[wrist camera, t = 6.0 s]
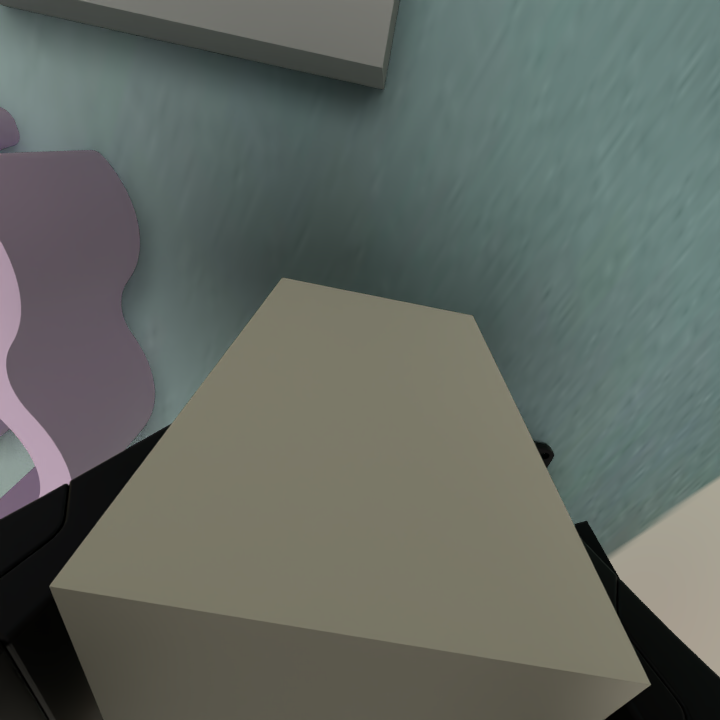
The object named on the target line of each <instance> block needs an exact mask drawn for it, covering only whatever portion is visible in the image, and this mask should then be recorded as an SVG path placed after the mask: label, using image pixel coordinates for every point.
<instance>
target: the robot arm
mask: <svg viewBox="0 0 720 720" xmlns="http://www.w3.org/2000/svg"><path fill="white" fill-rule="evenodd" d="M170 425H171V424H170ZM170 425H168V426H166V427H165V428H163V429H161V430H159V431H157V432H156V433H154V434H152V435H150V436H149V437H147V438H145V439H143V440H141V441H140V442H138V443H136V444H134V445H133V446H131V447H129V448H127V449H126V450H124V451H122V452H120V453H118V454H117V455H115V456H113V457H111V458H110V459H108V460H106V461H104V462H102V463H101V464H99V465H97V466H95V467H94V468H92V469H90V470H88V471H86V472H85V473H83V474H81V475H79V476H78V477H76V478H74V479H72V480H71V481H70V482H69V485H68V484H63V485H61V486H60V487H58V488H56V489H54V490H52V491H51V492H49V493H47V494H45V495H44V496H42V497H40V498H38V499H36V500H34V501H33V502H31V503H29V504H27V505H25V506H23V507H21V508H20V509H18V510H16V511H14V512H12V513H10V514H8V515H7V516H5V517H3V518H1V519H0V720H103V717H102V715H101V712H100V710H99V707H98V705H97V702H96V700H95V697H94V695H93V693H92V690H91V688H90V685H89V683H88V680H87V678H86V675H85V673H84V671H83V668H82V666H81V663H80V661H79V658H78V656H77V653H76V651H75V649H74V646H73V644H72V641H71V639H70V636H69V634H68V631H67V629H66V627H65V624H64V622H63V619H62V617H61V614H60V612H59V609H58V607H57V604H56V602H55V600H54V597H53V595H52V592H51V590H50V587H49V586H50V584H51V583H52V582H53V580H54V579H55V578H56V576H57V575H58V574H59V572H60V571H61V570H62V568H63V567H64V566H65V564H66V563H67V562H68V561H69V559H70V558H71V557H72V555H73V554H74V553H75V551H76V550H77V549H78V547H79V546H80V545H81V543H82V542H83V541H84V539H85V538H86V537H87V535H88V534H89V533H90V531H91V530H92V529H93V527H94V526H95V525H96V523H97V522H98V521H99V519H100V518H101V517H102V516H103V514H104V513H105V512H106V510H107V509H108V508H109V506H110V505H111V504H112V502H113V501H114V500H115V498H116V497H117V496H118V494H119V493H120V492H121V490H122V489H123V488H124V486H125V485H126V484H127V482H128V481H129V480H130V478H131V477H132V476H133V474H134V473H135V472H136V470H137V469H138V468H139V467H140V465H141V464H142V463H143V461H144V460H145V459H146V457H147V456H148V455H149V453H150V452H151V451H152V449H153V448H154V447H155V445H156V444H157V443H158V441H159V440H160V439H161V437H162V436H163V435H164V433H165V432H166V431H167V429H168V428H169V427H170ZM535 446H536V448H537V450H538V452H539V454H540V456H541V458H542V460H543V462H544V464H545V466H546V468H547V467H548V465H549V464H550V462H551V461H552V459H553V457H554V453H553V451H552V449H551V448H550V447H549V446H548V445H544V444H539V443H535ZM543 453H545V454H543ZM575 528H576V530H577V532H578V535H579V537H580V539H581V541H582V543H583V545H584V547H585V549H586V551H587V553H588V555H589V557H590V559H591V561H592V564H593V566H594V568H595V570H596V572H597V574H598V576H599V578H600V580H601V582H602V584H603V586H604V588H605V590H606V592H607V595H608V597H609V599H610V601H611V603H612V605H613V607H614V609H615V611H616V613H617V615H618V617H619V619H620V621H621V624H622V626H623V628H624V630H625V632H626V634H627V636H628V638H629V640H630V642H631V644H632V646H633V648H634V650H635V652H636V655H637V657H638V659H639V661H640V663H641V665H642V667H643V669H644V671H645V673H646V675H647V677H648V679H649V681H650V684H651V685H650V686H649V687H647V688H646V689H645V690H643V691H642V692H641V693H639V694H638V695H637V696H635V697H634V698H632V699H631V700H630V701H628V702H627V703H626V704H624V705H623V706H622V707H620V708H619V709H618V710H616V711H615V712H614V713H612V714H611V715H610V716H608V717H607V718H606V719H604V720H720V677H719V676H718V675H717V674H715V672H713V671H712V670H711V669H710V668H709V667H708V666H707V665H706V664H705V663H704V662H703V661H702V660H701V659H700V658H698V656H697V655H696V654H694V652H693V651H691V650H690V649H689V648H688V647H687V646H686V645H685V644H684V643H683V642H682V641H681V640H680V639H679V638H678V637H677V636H676V635H675V634H674V633H673V632H672V631H671V630H670V629H668V627H667V626H666V625H665V624H664V623H663V622H662V621H661V620H660V619H659V618H658V617H657V616H656V615H655V614H654V613H653V612H652V611H651V610H650V609H649V608H648V607H647V606H646V605H645V604H644V603H643V602H641V600H640V599H639V598H638V597H637V596H636V595H635V594H634V593H633V592H632V591H631V590H630V589H629V588H628V587H627V586H626V585H625V583H624V582H622V581H621V580H620V579H619V577H618V575H617V573H616V571H615V570H614V568H613V566H612V564H611V563H610V561H609V559H608V557H607V556H606V554H605V552H604V550H603V549H602V547H601V545H600V543H599V542H598V540H597V538H596V536H595V534H594V533H593V531H592V529H591V527H590V526H589V524H588V522H587V521H584V522H580V523H576V524H575Z"/></svg>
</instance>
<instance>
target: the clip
mask: <svg viewBox="0 0 720 720" xmlns="http://www.w3.org/2000/svg"><path fill="white" fill-rule="evenodd" d="M18 142H19V131H18V128H17V126H16V123H15V121H14V119H13V117H12V116H11V114H10V113H9V112H8V111H6V110H5V109H3V108H1V107H0V150H2V149H4V148H7V147H10V146H14V145H16V144H17V143H18ZM139 251H140V234H139V226H138V221H137V217H136V213H135V210H134V207H133V204H132V202H131V199H130V197H129V195H128V193H127V191H126V189H125V187H124V185H123V183H122V182H121V180H120V178H119V177H118V175H117V174H116V172H115V171H114V170H113V168H112V167H111V165H110V164H109V163H108V162H107V160H106V159H105V158H104V157H103V156H102V155H101V154H100V153H99V152H97V151H94V150H78V151H50V152H22V153H0V436H1V435H3V434H4V433H5V432H7V431H8V430H9V429H11V430H12V431H13V432H14V434H15V435H16V436H17V437H18V438H19V440H20V441H21V442H22V444H23V445H24V446H25V448H26V449H27V451H28V453H29V454H30V456H31V458H32V460H33V462H34V464H35V467H34V468H33V469H32V470H31V471H30V472H29V473H27V474H26V475H25V476H24V477H23V478H22V479H21V480H20V481H19V482H18V483H17V484H16V485H15V486H13V487H12V488H11V489H10V490H9V491H8V492H7V493H6V494H5V495H4V496H3V497H2V498H1V499H0V519H1V518H3V517H5V516H7V515H8V514H10V513H12V512H14V511H16V510H18V509H20V508H21V507H23V506H25V505H27V504H29V503H31V502H33V501H34V500H36V499H38V498H40V497H42V496H44V495H45V494H47V493H49V492H51V491H52V490H54V489H56V488H58V487H60V486H61V485H63V484H68V485H69V482H70V481H71V480H72V479H74V478H76V477H78V476H79V475H81V474H83V473H85V472H86V471H88V470H90V469H92V468H94V467H95V466H97V465H99V464H101V463H102V462H104V461H106V460H108V459H110V458H111V457H113V456H115V455H117V454H118V453H120V452H122V451H124V450H125V449H126V448H127V447H128V445H129V444H130V443H131V442H132V441H133V440H134V438H135V437H136V436H137V435H138V434H139V432H140V431H141V430H142V429H143V428H144V426H145V425H146V424H147V422H148V420H149V418H150V416H151V414H152V411H153V407H154V401H155V387H154V380H153V375H152V372H151V369H150V366H149V363H148V361H147V359H146V356H145V354H144V352H143V350H142V349H141V347H140V345H139V344H138V342H137V340H136V339H135V337H134V336H133V335H132V333H131V332H130V330H129V328H128V326H127V324H126V322H125V320H124V317H123V313H122V307H121V297H122V292H123V289H124V287H125V285H126V283H127V281H128V280H129V279H130V277H131V276H132V274H133V272H134V270H135V267H136V265H137V261H138V257H139Z"/></svg>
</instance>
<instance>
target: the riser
mask: <svg viewBox="0 0 720 720" xmlns="http://www.w3.org/2000/svg"><path fill="white" fill-rule="evenodd" d="M399 3H400V0H0V5H3V6H7V7H12V8H16V9H21V10H25V11H30V12H34V13H39V14H43V15H48V16H52V17H57V18H62V19H66V20H71V21H75V22H80V23H84V24H89V25H93V26H98V27H102V28H107V29H111V30H116V31H120V32H125V33H129V34H134V35H139V36H143V37H148V38H152V39H157V40H161V41H166V42H170V43H175V44H179V45H184V46H188V47H193V48H197V49H202V50H206V51H211V52H215V53H220V54H225V55H229V56H234V57H238V58H243V59H247V60H252V61H256V62H261V63H265V64H270V65H274V66H279V67H283V68H288V69H292V70H297V71H302V72H306V73H311V74H315V75H320V76H324V77H329V78H333V79H338V80H342V81H347V82H351V83H356V84H360V85H365V86H369V87H374V88H378V89H383V90H384V87H385V81H386V75H387V70H388V64H389V59H390V53H391V47H392V42H393V36H394V31H395V25H396V19H397V14H398V8H399Z"/></svg>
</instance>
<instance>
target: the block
mask: <svg viewBox="0 0 720 720" xmlns="http://www.w3.org/2000/svg"><path fill="white" fill-rule="evenodd" d="M49 587H50V590H51V592H52V595H53V597H54V600H55V602H56V604H57V607H58V609H59V612H60V614H61V617H62V619H63V622H64V624H65V627H66V629H67V631H68V634H69V636H70V639H71V641H72V644H73V646H74V649H75V651H76V653H77V656H78V658H79V661H80V663H81V666H82V668H83V671H84V673H85V675H86V678H87V680H88V683H89V685H90V688H91V690H92V693H93V695H94V697H95V700H96V702H97V705H98V707H99V710H100V712H101V715H102V717H103V720H604V719H606V718H607V717H608V716H610V715H611V714H612V713H614V712H615V711H616V710H618V709H619V708H620V707H622V706H623V705H624V704H626V703H627V702H628V701H630V700H631V699H632V698H634V697H635V696H637V695H638V694H639V693H641V692H642V691H643V690H645V689H646V688H647V687H649V686H650V685H651V684H650V681H649V679H648V677H647V675H646V673H645V671H644V669H643V667H642V665H641V663H640V661H639V659H638V657H637V655H636V652H635V650H634V648H633V646H632V644H631V642H630V640H629V638H628V636H627V634H626V632H625V630H624V628H623V626H622V624H621V621H620V619H619V617H618V615H617V613H616V611H615V609H614V607H613V605H612V603H611V601H610V599H609V597H608V595H607V592H606V590H605V588H604V586H603V584H602V582H601V580H600V578H599V576H598V574H597V572H596V570H595V568H594V566H593V564H592V561H591V559H590V557H589V555H588V553H587V551H586V549H585V547H584V545H583V543H582V541H581V539H580V537H579V535H578V532H577V530H576V528H575V526H574V524H573V522H572V520H571V518H570V516H569V514H568V512H567V510H566V508H565V506H564V503H563V501H562V499H561V497H560V495H559V493H558V491H557V489H556V487H555V485H554V483H553V481H552V479H551V477H550V475H549V472H548V470H547V468H546V466H545V464H544V462H543V460H542V458H541V456H540V454H539V452H538V450H537V448H536V446H535V443H534V441H533V439H532V437H531V435H530V433H529V431H528V429H527V427H526V425H525V423H524V421H523V419H522V417H521V414H520V412H519V410H518V408H517V406H516V404H515V402H514V400H513V398H512V396H511V394H510V392H509V390H508V388H507V386H506V383H505V381H504V379H503V377H502V375H501V373H500V371H499V369H498V367H497V365H496V363H495V361H494V359H493V357H492V354H491V352H490V350H489V348H488V346H487V344H486V342H485V340H484V338H483V336H482V334H481V332H480V330H479V328H478V325H477V323H476V321H475V319H474V317H473V316H472V315H467V314H462V313H457V312H452V311H447V310H442V309H437V308H432V307H427V306H422V305H417V304H412V303H407V302H402V301H397V300H392V299H387V298H382V297H377V296H372V295H367V294H362V293H357V292H352V291H347V290H342V289H337V288H332V287H327V286H322V285H317V284H312V283H307V282H302V281H297V280H292V279H287V278H281V280H280V281H279V282H278V284H277V285H276V286H275V288H274V289H273V290H272V292H271V293H270V294H269V296H268V297H267V298H266V300H265V301H264V302H263V304H262V305H261V306H260V308H259V309H258V310H257V312H256V313H255V314H254V316H253V317H252V318H251V320H250V321H249V322H248V323H247V325H246V326H245V327H244V329H243V330H242V331H241V333H240V334H239V335H238V337H237V338H236V339H235V341H234V342H233V343H232V345H231V346H230V347H229V349H228V350H227V351H226V353H225V354H224V355H223V357H222V358H221V359H220V361H219V362H218V363H217V365H216V366H215V367H214V369H213V370H212V371H211V372H210V374H209V375H208V376H207V378H206V379H205V380H204V382H203V383H202V384H201V386H200V387H199V388H198V390H197V391H196V392H195V394H194V395H193V396H192V398H191V399H190V400H189V402H188V403H187V404H186V406H185V407H184V408H183V410H182V411H181V412H180V414H179V415H178V416H177V418H176V419H175V420H174V421H173V423H172V424H171V425H170V427H169V428H168V429H167V431H166V432H165V433H164V435H163V436H162V437H161V439H160V440H159V441H158V443H157V444H156V445H155V447H154V448H153V449H152V451H151V452H150V453H149V455H148V456H147V457H146V459H145V460H144V461H143V463H142V464H141V465H140V467H139V468H138V469H137V470H136V472H135V473H134V474H133V476H132V477H131V478H130V480H129V481H128V482H127V484H126V485H125V486H124V488H123V489H122V490H121V492H120V493H119V494H118V496H117V497H116V498H115V500H114V501H113V502H112V504H111V505H110V506H109V508H108V509H107V510H106V512H105V513H104V514H103V516H102V517H101V518H100V519H99V521H98V522H97V523H96V525H95V526H94V527H93V529H92V530H91V531H90V533H89V534H88V535H87V537H86V538H85V539H84V541H83V542H82V543H81V545H80V546H79V547H78V549H77V550H76V551H75V553H74V554H73V555H72V557H71V558H70V559H69V561H68V562H67V563H66V564H65V566H64V567H63V568H62V570H61V571H60V572H59V574H58V575H57V576H56V578H55V579H54V580H53V582H52V583H51V584H50V586H49Z"/></svg>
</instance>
